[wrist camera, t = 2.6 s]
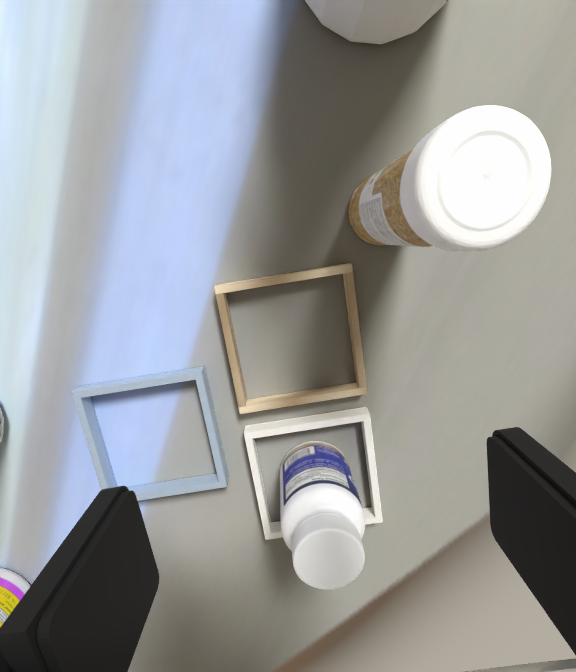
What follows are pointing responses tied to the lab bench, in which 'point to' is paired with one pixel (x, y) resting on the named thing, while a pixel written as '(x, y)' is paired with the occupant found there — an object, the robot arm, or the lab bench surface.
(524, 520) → the robot arm
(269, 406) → the tray birch
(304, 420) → the tray white
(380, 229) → the sprinkles bottle
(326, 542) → the pill bottle
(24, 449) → the lab bench surface
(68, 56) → the lab bench surface
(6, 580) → the supplement bottle
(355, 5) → the soap bottle
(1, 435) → the supplement can
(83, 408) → the tray slate
